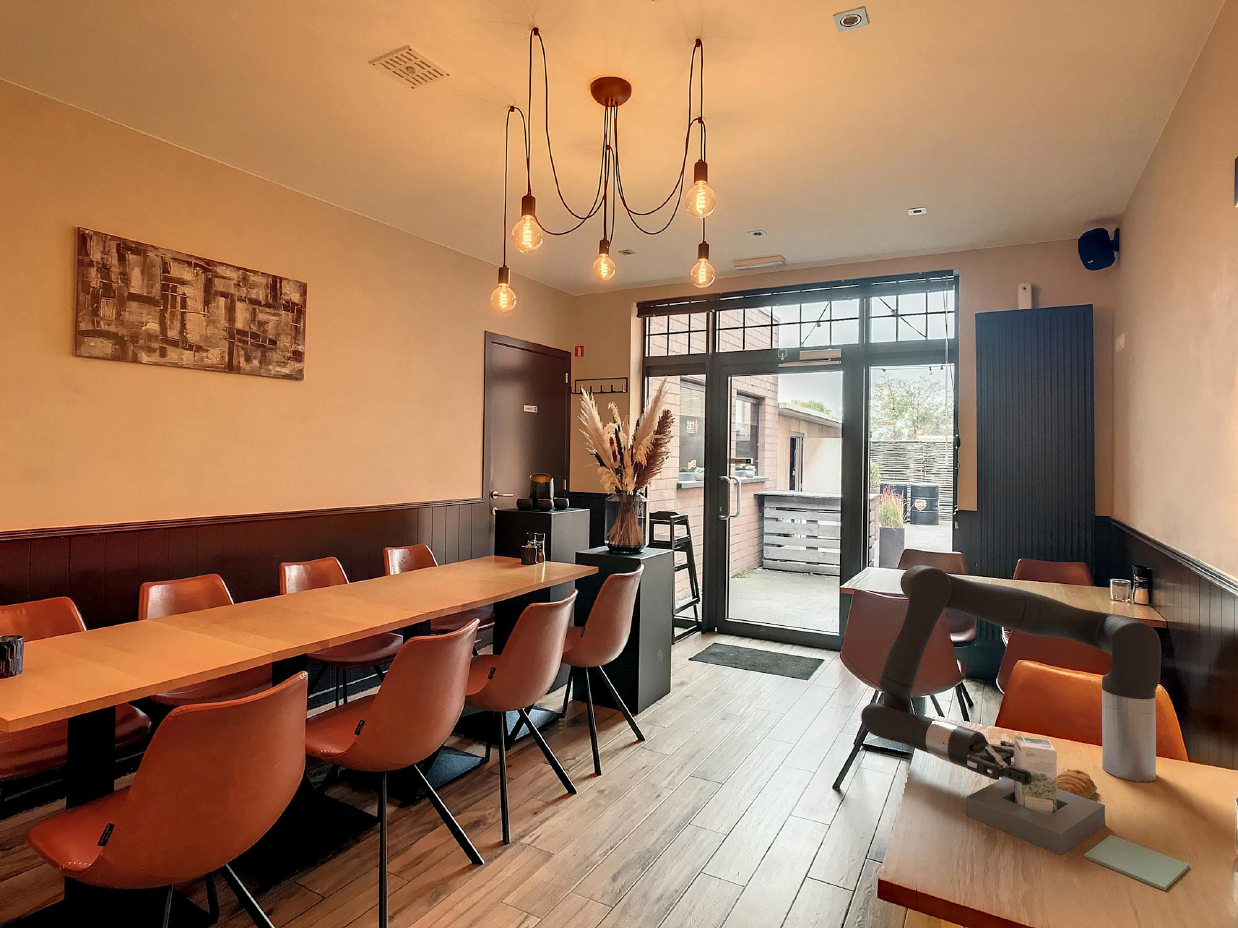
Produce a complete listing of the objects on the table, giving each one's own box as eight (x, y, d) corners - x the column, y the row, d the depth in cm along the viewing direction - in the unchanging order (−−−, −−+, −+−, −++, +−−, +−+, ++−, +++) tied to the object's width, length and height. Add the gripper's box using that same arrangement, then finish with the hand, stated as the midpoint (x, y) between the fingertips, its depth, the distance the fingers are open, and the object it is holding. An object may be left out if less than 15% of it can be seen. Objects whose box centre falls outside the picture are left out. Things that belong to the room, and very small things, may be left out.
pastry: (1085, 807, 131) (1085, 787, 131) (1046, 795, 136) (1045, 776, 136) (1098, 792, 137) (1098, 773, 137) (1059, 781, 142) (1059, 763, 142)
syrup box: (1048, 814, 128) (1047, 737, 128) (1057, 830, 122) (1056, 749, 122) (1014, 809, 129) (1013, 733, 130) (1021, 824, 124) (1020, 745, 124)
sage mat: (1110, 837, 120) (1110, 834, 120) (1189, 867, 111) (1189, 864, 111) (1084, 857, 113) (1083, 854, 113) (1164, 890, 104) (1164, 887, 104)
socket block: (1013, 790, 137) (1013, 772, 137) (1105, 823, 124) (1104, 804, 124) (966, 815, 127) (966, 796, 127) (1060, 854, 114) (1060, 833, 114)
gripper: (936, 733, 134) (1022, 761, 121) (974, 718, 142) (1059, 744, 129) (936, 771, 134) (1023, 804, 121) (974, 754, 142) (1059, 783, 129)
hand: (1041, 773), depth 125 cm, fingers open, 8 cm apart
